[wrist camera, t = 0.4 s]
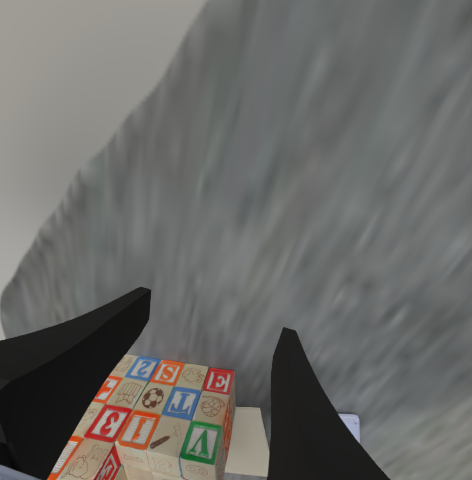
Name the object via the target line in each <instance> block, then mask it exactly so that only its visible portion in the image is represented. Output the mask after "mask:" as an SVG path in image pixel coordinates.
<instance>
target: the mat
mask: <svg viewBox="0 0 472 480" xmlns="http://www.w3.org/2000/svg"><path fill="white" fill-rule="evenodd" d="M269 453H270V451H269V447H268V442H267V438H266V433H265V429H264V424H263V420H262V415H261V411H260V408H255V407H236V409H235V415H234V421H233V427H232V434H231V440H230V446H229V452H228V457H227V462H226V465H225V472H227V473H236V474H245V475H254V476H263V477H267V476H268V465H269Z"/></svg>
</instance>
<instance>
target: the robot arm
mask: <svg viewBox="0 0 472 480" xmlns="http://www.w3.org/2000/svg"><path fill="white" fill-rule="evenodd" d="M150 299H151V290H150V289H147V288H143V287H139V288H137V289H135V290H133V291H131V292H129V293H127V294H125V295H123V296H122V297H120V298H118V299H116V300H114V301H112V302H110V303H108V304H106V305H104V306H102V307H99V308H97V309H95V310H93V311H91V312H89V313H86V314H84V315H82V316H79V317H77V318H74V319H72V320H69V321H66V322H64V323H61V324H58V325H55V326H52V327H49V328H46V329H42V330H39V331H36V332H33V333H29V334H25V335H22V336H18V337H14V338H10V339H5V340H1V341H0V480H47V479H48V477H49V475H50V473H51V472H52V470H53V468H54V466H55V464H56V463H57V461H58V459H59V457H60V455H61V454H62V452H63V450H64V448H65V446H66V445H67V443H68V441H69V440H70V438H71V436H72V434H73V433H74V431H75V429H76V427H77V426H78V424H79V422H80V421H81V419H82V417H83V416H84V414H85V412H86V411H87V409H88V407H89V406H90V404H91V403H92V401H93V399H94V398H95V396H96V395H97V393H98V391H99V390H100V388H101V387H102V385H103V384H104V382H105V381H106V379H107V378H108V376H109V375H110V374H111V372H112V371H113V370H114V368H115V367H116V366H117V364H118V363H119V362H120V361H121V359H122V358H123V357H124V355H125V354H126V353H127V352H128V350H129V349H130V348H131V346H132V345H133V344H134V342H135V341H136V340H137V338H138V337H139V336H140V334H141V332H142V331H143V329H144V327H145V326H146V324H147V322H148V320H149V314H150ZM267 480H390V479H389V478H388V477H387V476H386V474H385V473H384V472H383V471H382V470H381V469H380V468H379V467H378V466H377V464H376V463H375V462H374V461H373V460H372V458H371V457H370V456H369V455H368V453H367V452H366V451H365V450H364V449H363V447H362V446H361V445H360V429H359V418H358V416H357V415H354V414H338V413H337V412H336V410H335V409H334V407H333V405H332V404H331V402H330V401H329V399H328V397H327V396H326V394H325V392H324V390H323V389H322V387H321V385H320V383H319V381H318V379H317V377H316V376H315V374H314V372H313V369H312V367H311V365H310V363H309V361H308V359H307V357H306V354H305V352H304V350H303V347H302V345H301V343H300V340H299V337H298V335H297V332H296V331H295V330H292V329H288V328H285V327H283V330H282V333H281V335H280V338H279V341H278V344H277V347H276V349H275V352H274V355H273V362H272V371H271V441H270V453H269V465H268V476H267Z"/></svg>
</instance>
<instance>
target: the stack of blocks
mask: <svg viewBox="0 0 472 480" xmlns="http://www.w3.org/2000/svg"><path fill="white" fill-rule="evenodd" d="M235 390H236V379H235V371H231V370H224V369H217V368H209V367H207V366H201V365H195V364H185V363H182V362H175V361H169V360H160V359H153V358H147V357H138V356H132V355H126V354H125V355H124V357H123V358H122V359H121V361H120V362H119V363H118V364H117V366H116V367H115V368H114V370H113V371H112V372H111V374H110V375H109V376H108V378H107V379H106V381H105V382H104V384H103V385H102V387H101V388H100V390H99V391H98V393H97V395H96V396H95V398H94V399H93V401H92V403H91V404H90V406H89V407H88V409H87V411H86V412H85V414H84V416H83V417H82V419H81V421H80V422H79V424H78V426H77V427H76V429H75V431H74V433H73V434H72V436H71V438H70V440H69V441H68V443H67V445H66V446H65V448H64V450H63V452H62V454H61V455H60V457H59V459H58V461H57V463H56V464H55V466H54V468H53V470H52V472H51V473H50V475H49V477H48V479H47V480H223V477H224V472H225V465H226V462H227V457H228V452H229V446H230V440H231V434H232V427H233V421H234V415H235V409H236V391H235Z"/></svg>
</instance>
